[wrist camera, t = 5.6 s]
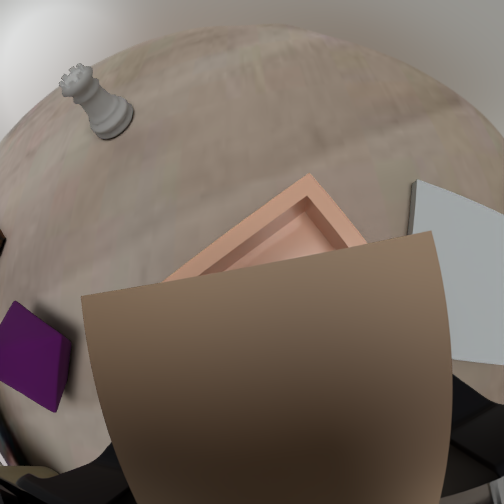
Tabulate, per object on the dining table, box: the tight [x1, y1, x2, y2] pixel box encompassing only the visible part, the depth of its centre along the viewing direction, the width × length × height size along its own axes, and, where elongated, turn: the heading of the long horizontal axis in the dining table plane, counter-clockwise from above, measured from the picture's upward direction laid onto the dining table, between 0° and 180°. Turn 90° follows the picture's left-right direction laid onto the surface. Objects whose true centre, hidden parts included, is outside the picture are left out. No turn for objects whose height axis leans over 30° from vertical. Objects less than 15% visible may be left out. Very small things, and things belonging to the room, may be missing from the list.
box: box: [161, 173, 368, 283], centre depth 16 cm, size 13×13×4 cm
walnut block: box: [81, 231, 452, 504], centre depth 9 cm, size 5×5×13 cm
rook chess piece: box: [59, 63, 133, 139], centre depth 19 cm, size 4×4×8 cm
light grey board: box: [407, 179, 504, 365], centre depth 16 cm, size 12×12×1 cm
